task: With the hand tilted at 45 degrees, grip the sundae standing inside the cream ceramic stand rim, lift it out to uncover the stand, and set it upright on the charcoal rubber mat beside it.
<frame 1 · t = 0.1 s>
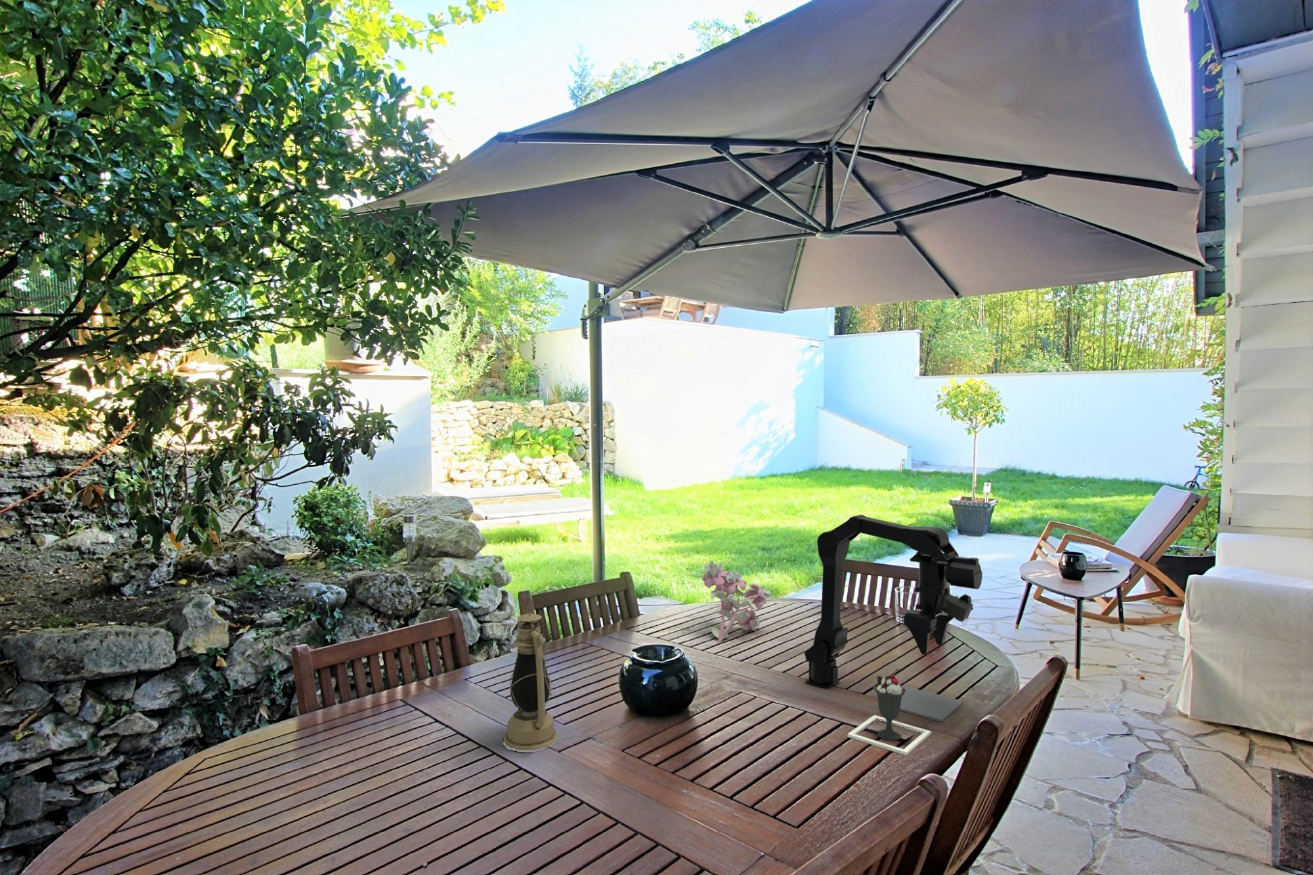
hand: (931, 649, 169), 15 cm above the table, tool pointing down, fingers open, 9 cm apart
flower: (737, 633, 230), on the table
lantern: (531, 740, 157), on the table
sundae: (889, 736, 157), resting in stand rim
mat: (923, 704, 174), on the table
stand rim: (889, 735, 157), on the table
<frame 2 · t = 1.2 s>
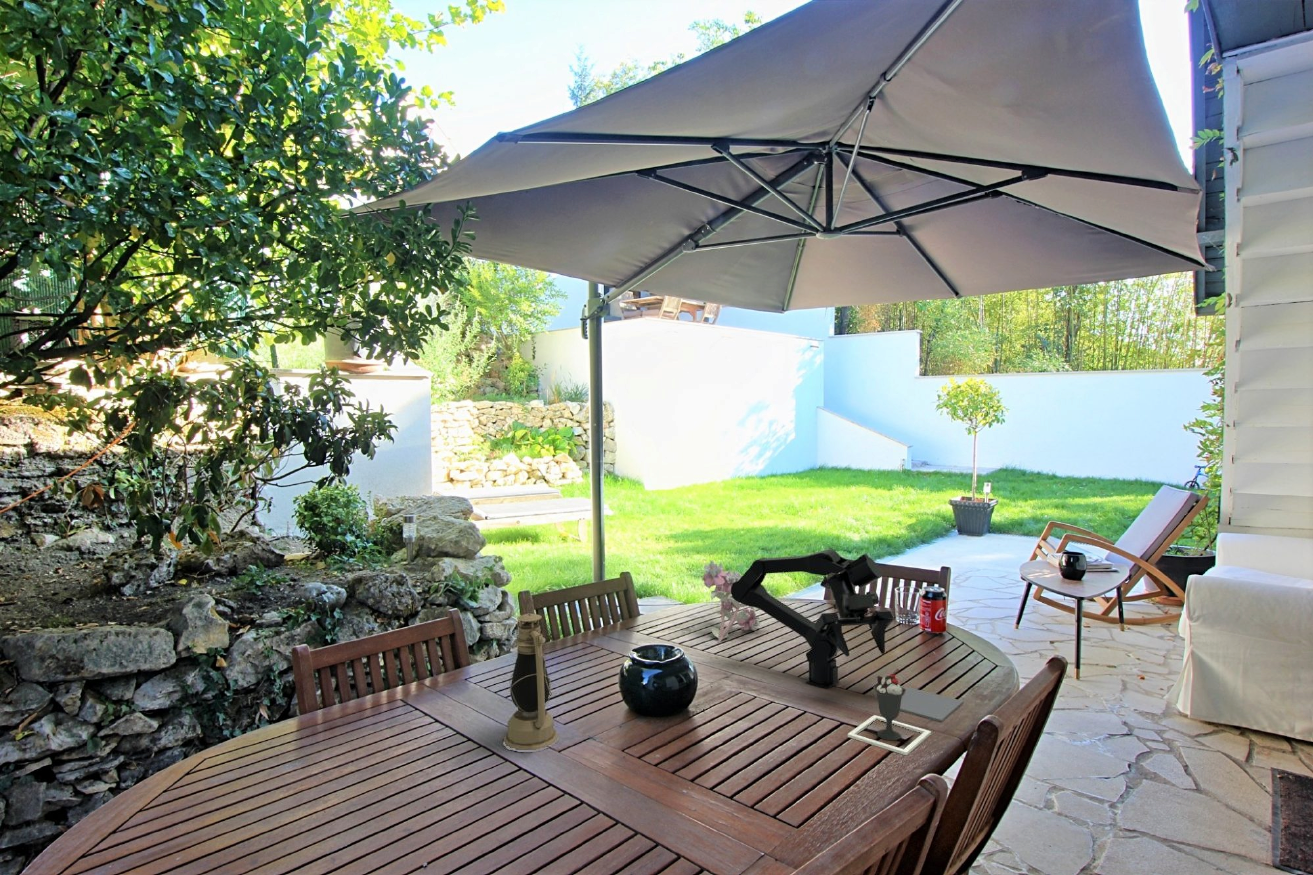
hand: (865, 654, 173), 12 cm above the table, tool tilted 45°, fingers open, 9 cm apart
nothing on the table moved.
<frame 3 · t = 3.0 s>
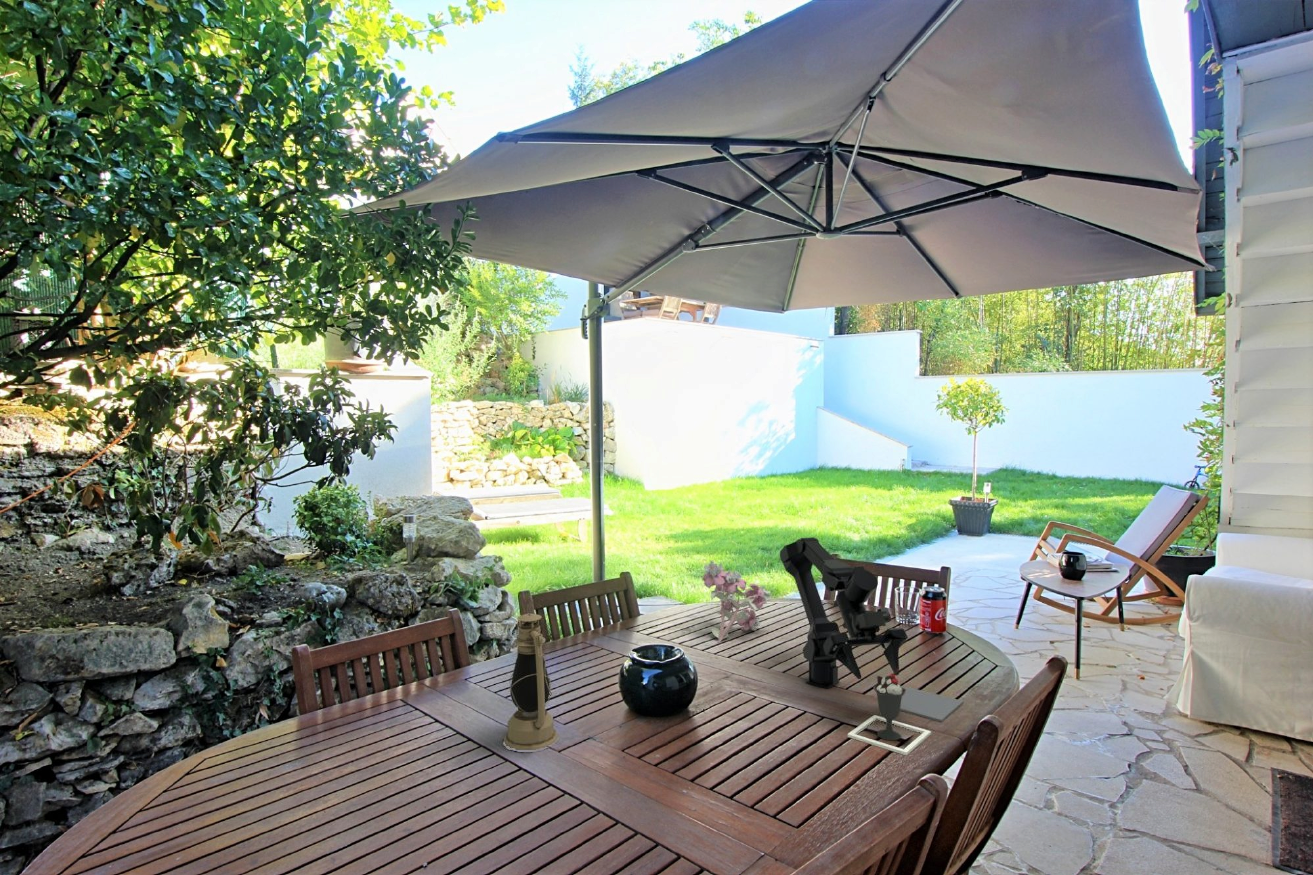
hand: (879, 676, 161), 11 cm above the table, tool tilted 45°, fingers open, 9 cm apart
nothing on the table moved.
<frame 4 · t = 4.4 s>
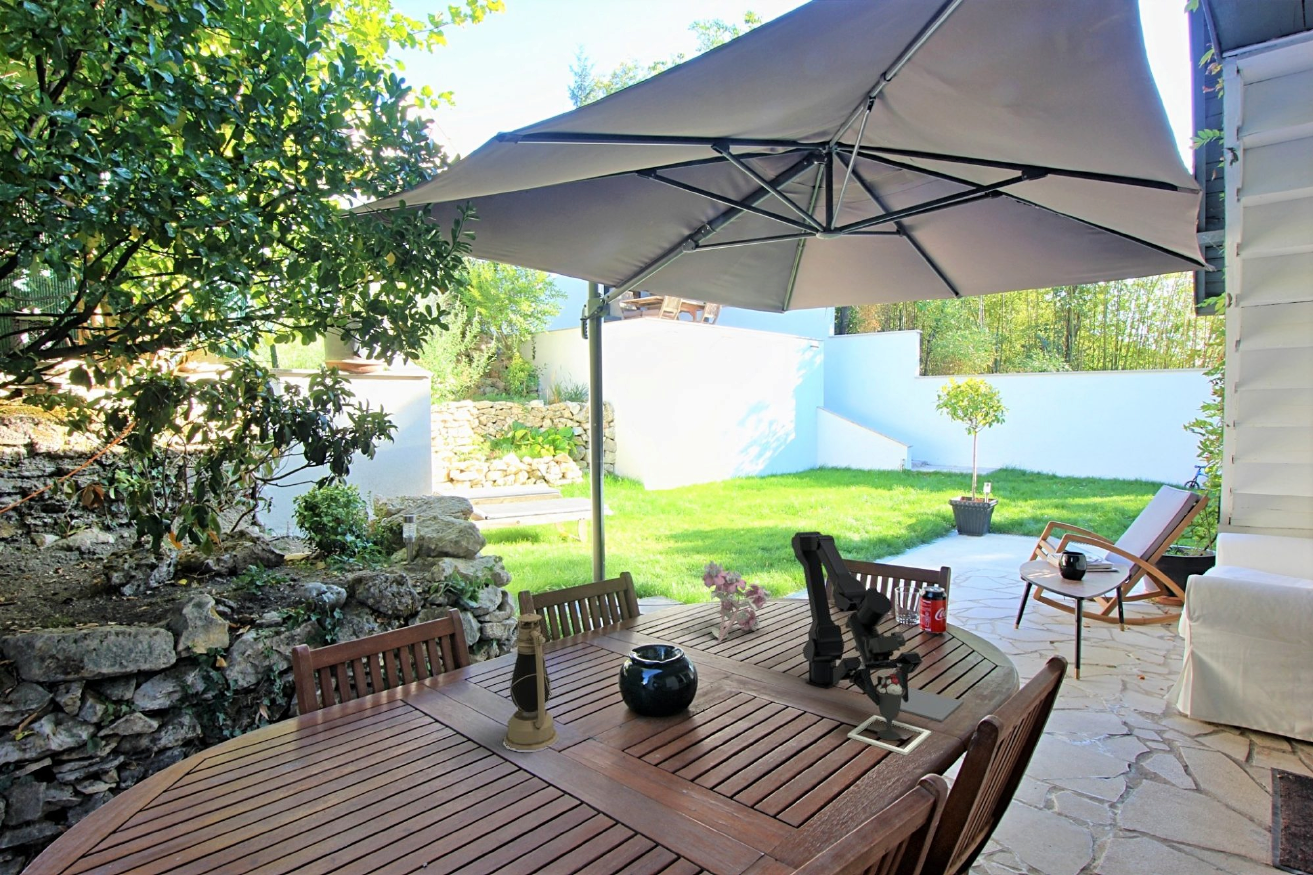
hand: (893, 703, 156), 8 cm above the table, tool tilted 45°, fingers closed on sundae, 6 cm apart
sundae: (889, 736, 157), resting in stand rim, touching gripper
everything else where it was.
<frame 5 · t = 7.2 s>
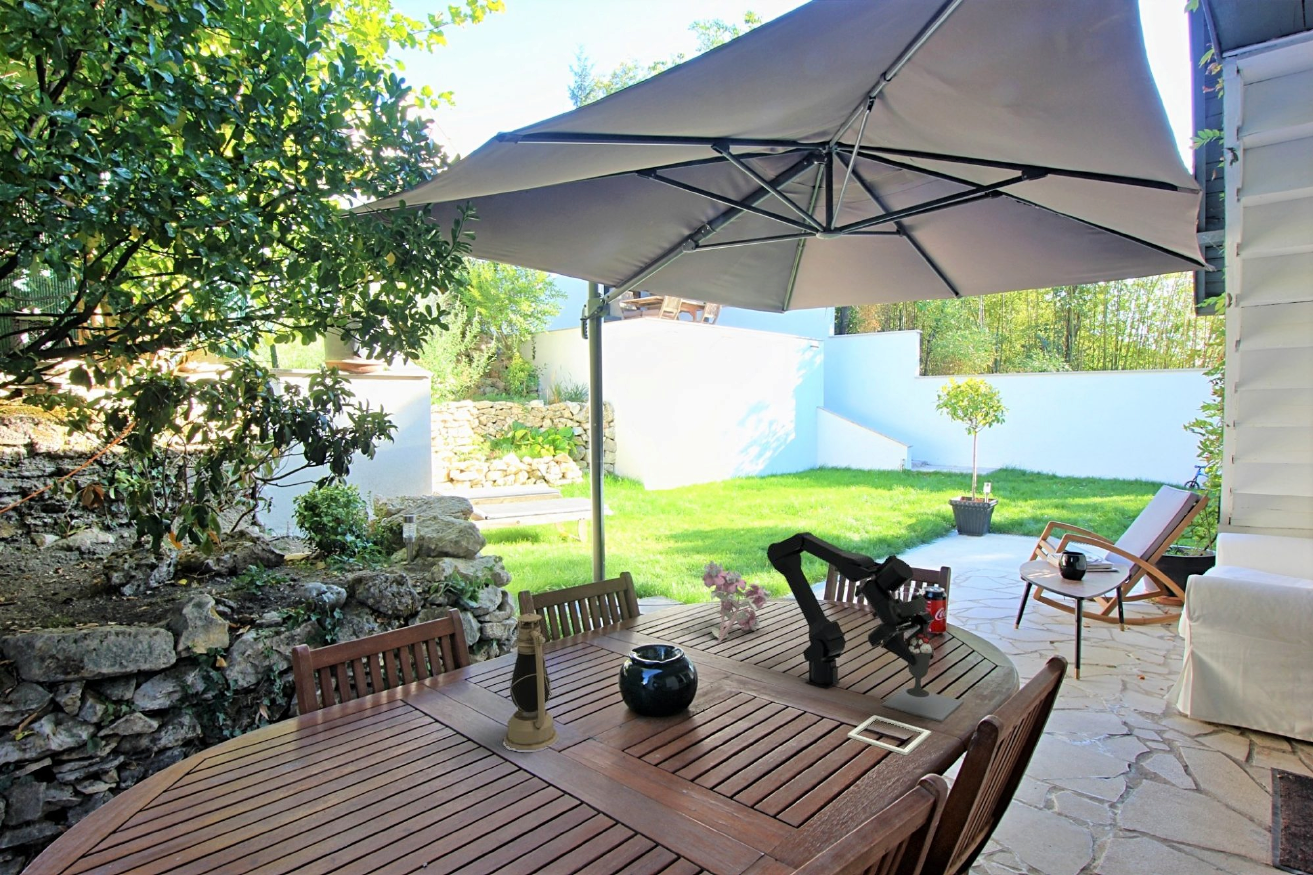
hand: (923, 661, 165), 13 cm above the table, tool tilted 45°, fingers closed on sundae, 6 cm apart
sundae: (918, 693, 166), point 6 cm above the table, touching gripper
everything else where it was.
when the fingers open (9 cm above the table, at t = 9.5 s): sundae drops 1 cm, resting on mat.
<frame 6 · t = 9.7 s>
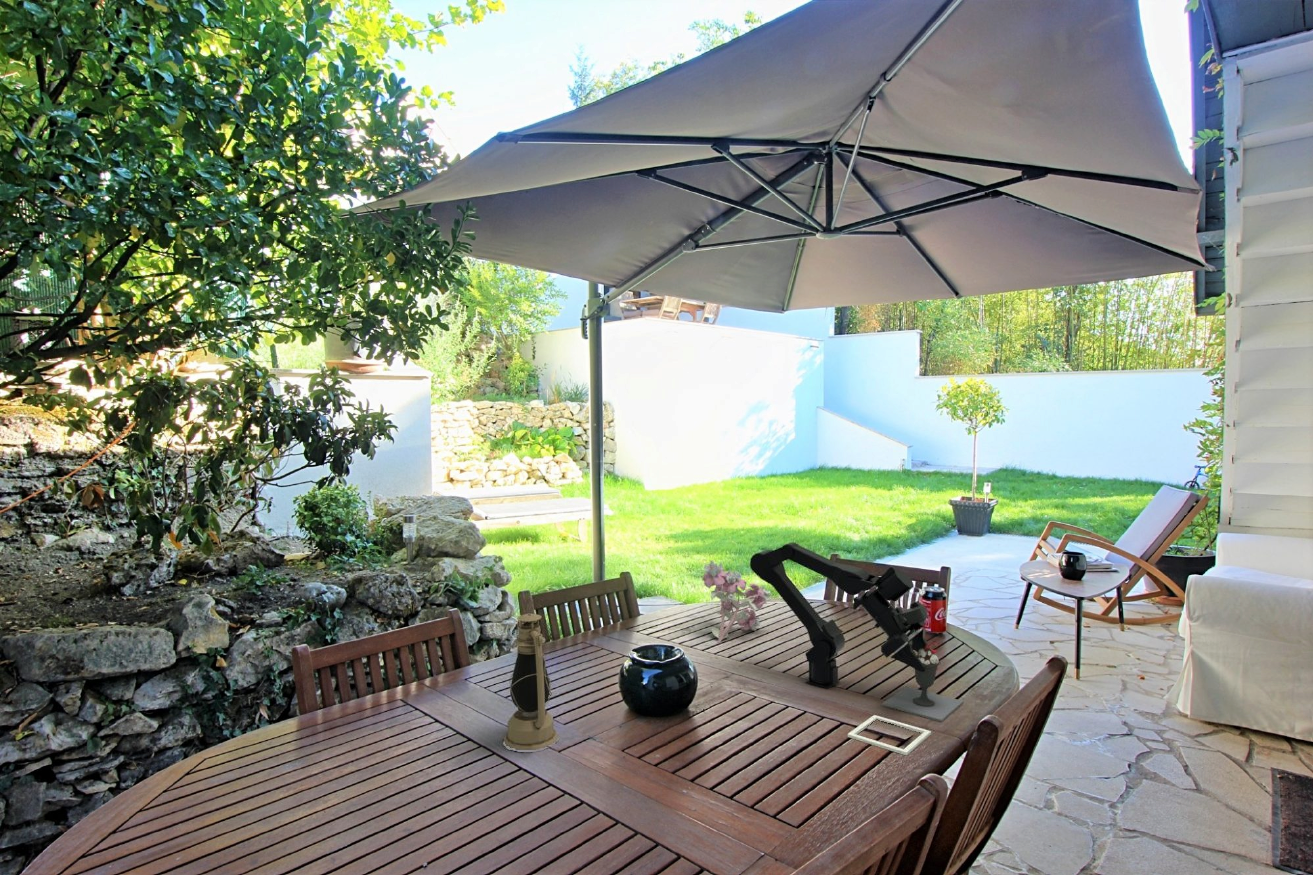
hand: (929, 665, 173), 10 cm above the table, tool tilted 45°, fingers open, 8 cm apart
sundae: (923, 702, 174), resting on mat
everything else where it was.
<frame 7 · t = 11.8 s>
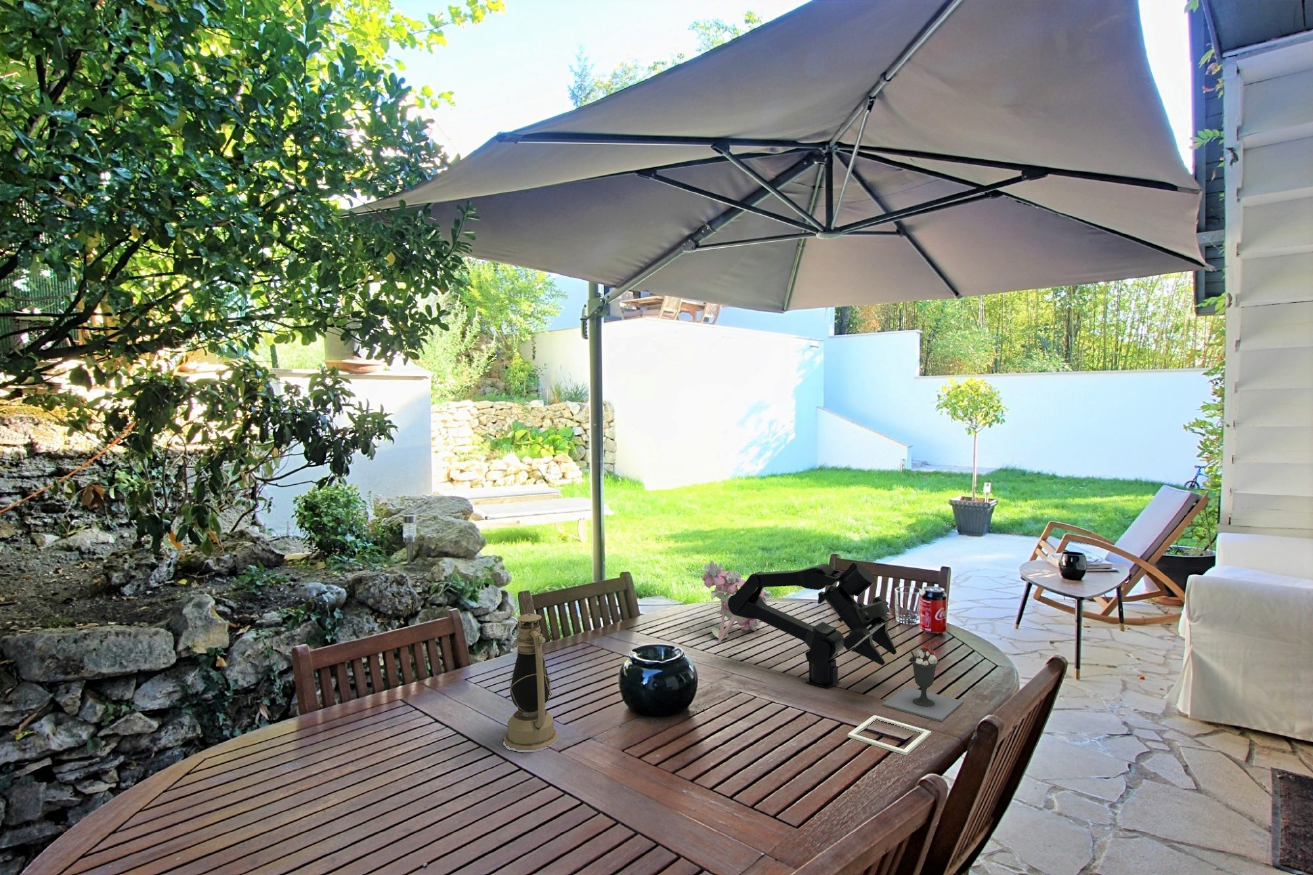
hand: (889, 658, 178), 9 cm above the table, tool tilted 45°, fingers open, 9 cm apart
nothing on the table moved.
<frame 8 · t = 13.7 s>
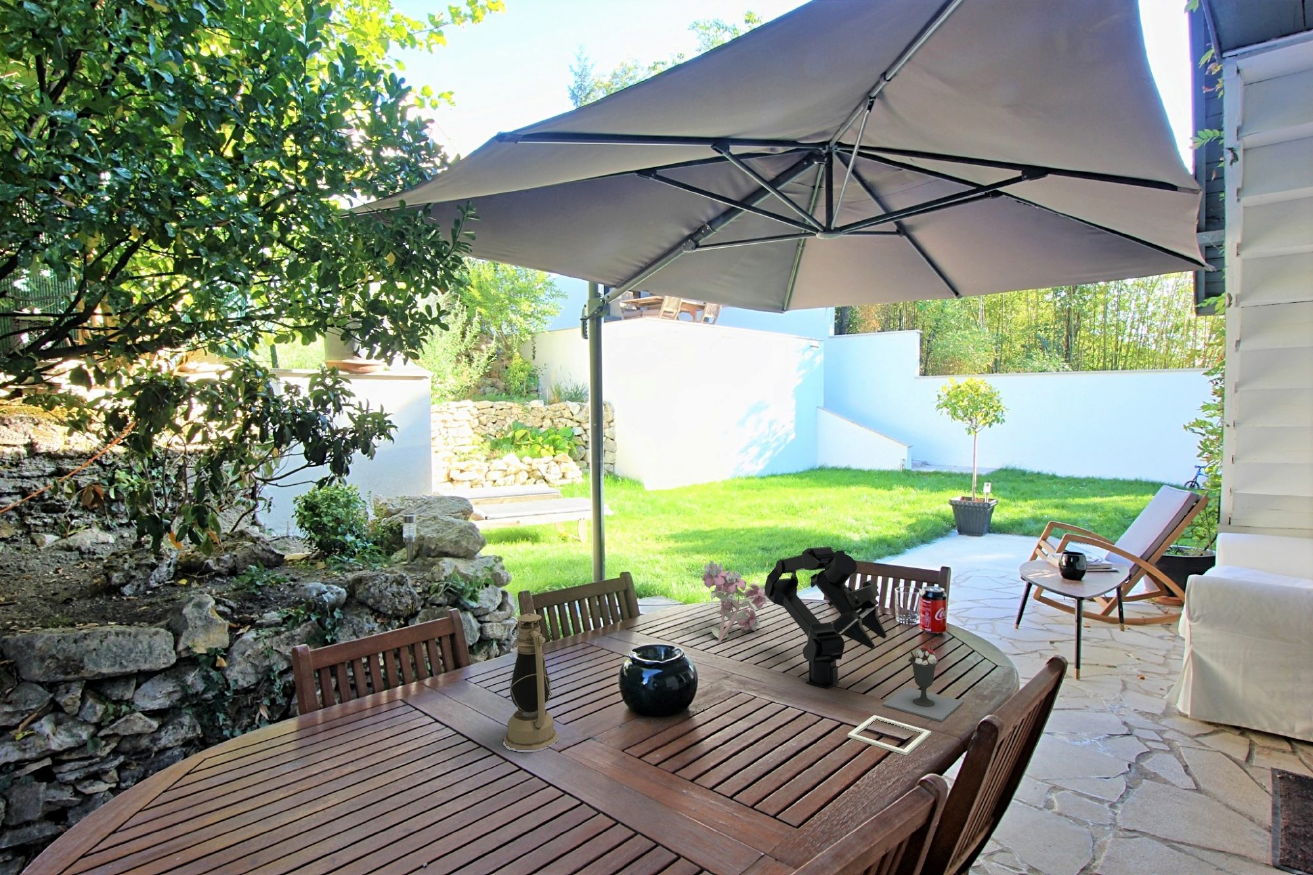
hand: (879, 642, 178), 14 cm above the table, tool tilted 45°, fingers open, 9 cm apart
nothing on the table moved.
at the end: sundae inside the target area on the mat (0.2 cm from its centre), point 0.3 cm above the mat's base; sundae tilted 0°; the gripper is holding nothing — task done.
